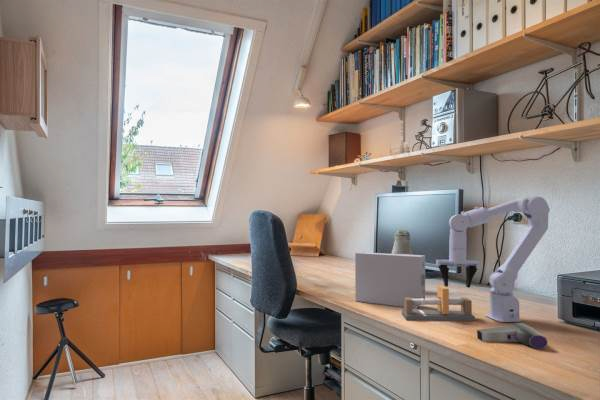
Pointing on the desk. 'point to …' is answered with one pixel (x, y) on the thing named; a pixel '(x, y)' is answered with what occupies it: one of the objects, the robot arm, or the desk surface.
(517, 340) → the infrared thermometer
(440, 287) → the collar
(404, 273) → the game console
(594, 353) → the desk surface
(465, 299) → the pipe stand
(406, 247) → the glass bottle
